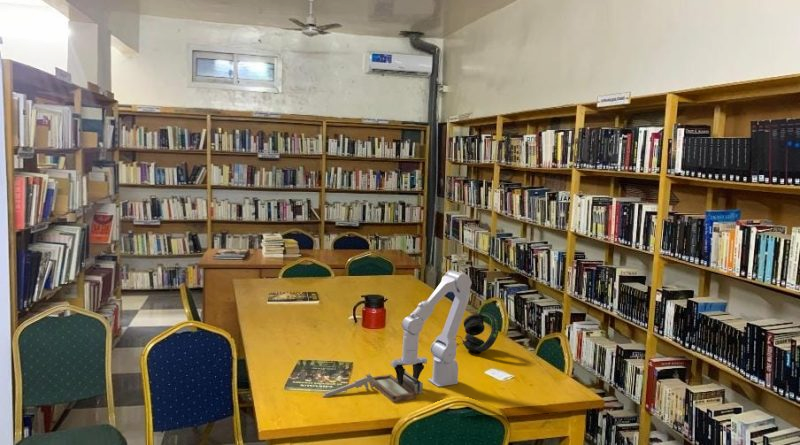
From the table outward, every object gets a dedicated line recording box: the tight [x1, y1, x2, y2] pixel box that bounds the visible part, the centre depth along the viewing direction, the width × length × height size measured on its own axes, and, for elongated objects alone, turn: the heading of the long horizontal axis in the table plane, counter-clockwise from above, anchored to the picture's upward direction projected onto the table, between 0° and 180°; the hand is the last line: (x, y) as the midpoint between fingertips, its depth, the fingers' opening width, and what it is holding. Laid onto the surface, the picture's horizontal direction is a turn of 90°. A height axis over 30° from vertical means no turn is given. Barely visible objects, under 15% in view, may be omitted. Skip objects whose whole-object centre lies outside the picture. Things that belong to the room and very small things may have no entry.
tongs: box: [395, 370, 424, 396], centre depth 228 cm, size 3×14×5 cm, turn 28°
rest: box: [372, 374, 417, 403], centre depth 224 cm, size 9×20×2 cm, turn 28°
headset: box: [455, 311, 500, 353], centre depth 276 cm, size 18×14×29 cm
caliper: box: [321, 372, 374, 398], centre depth 220 cm, size 20×1×6 cm, turn 121°
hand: (407, 383), depth 227 cm, fingers open, 6 cm apart
